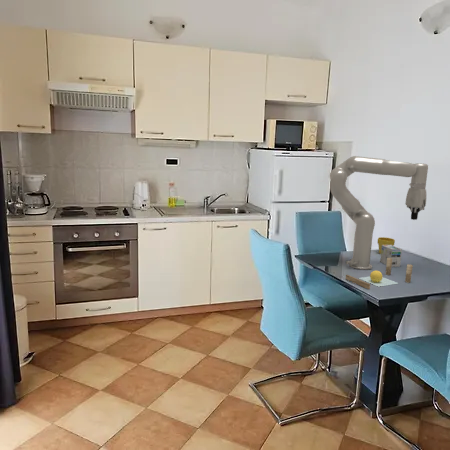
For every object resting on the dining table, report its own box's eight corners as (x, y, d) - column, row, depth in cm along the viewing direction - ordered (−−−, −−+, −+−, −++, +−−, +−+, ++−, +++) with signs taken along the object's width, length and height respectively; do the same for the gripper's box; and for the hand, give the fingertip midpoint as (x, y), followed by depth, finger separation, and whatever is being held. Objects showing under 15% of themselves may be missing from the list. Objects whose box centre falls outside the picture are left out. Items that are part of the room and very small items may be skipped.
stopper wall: (368, 289, 200) (368, 284, 200) (345, 279, 215) (345, 274, 214) (369, 289, 201) (370, 284, 200) (346, 279, 215) (347, 274, 214)
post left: (388, 275, 224) (389, 259, 222) (384, 273, 226) (386, 258, 224) (391, 274, 225) (393, 258, 223) (387, 273, 227) (389, 257, 226)
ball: (379, 270, 207) (386, 273, 210) (369, 267, 213) (377, 271, 216) (375, 281, 207) (382, 285, 210) (365, 278, 212) (373, 282, 215)
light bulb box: (400, 266, 241) (402, 248, 239) (390, 267, 240) (392, 249, 238) (389, 261, 252) (391, 244, 250) (379, 262, 250) (381, 244, 248)
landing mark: (378, 286, 205) (378, 286, 205) (357, 278, 217) (357, 278, 217) (398, 283, 211) (398, 283, 211) (377, 275, 223) (377, 275, 223)
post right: (408, 282, 212) (410, 265, 211) (403, 281, 215) (405, 264, 213) (411, 282, 213) (413, 265, 212) (407, 280, 216) (409, 264, 214)
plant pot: (396, 255, 267) (398, 240, 265) (383, 256, 264) (384, 241, 262) (386, 251, 277) (387, 236, 275) (372, 251, 274) (374, 237, 272)
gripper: (401, 185, 231) (398, 217, 235) (425, 187, 218) (420, 222, 222) (411, 184, 235) (407, 216, 238) (434, 187, 222) (430, 221, 225)
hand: (413, 219), depth 230 cm, fingers closed
